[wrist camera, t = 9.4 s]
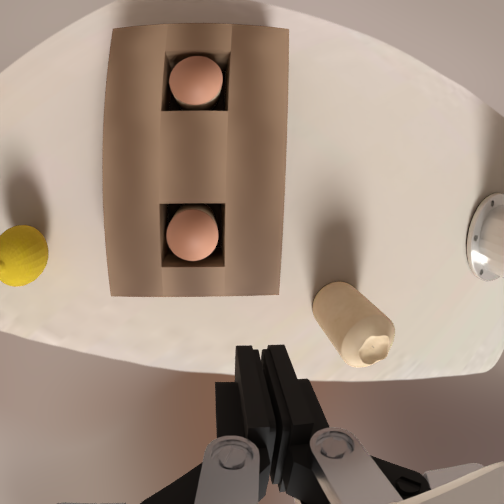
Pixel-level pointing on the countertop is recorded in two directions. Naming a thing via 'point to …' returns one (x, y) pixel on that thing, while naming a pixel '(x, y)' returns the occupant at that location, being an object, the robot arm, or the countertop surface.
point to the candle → (353, 324)
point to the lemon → (22, 255)
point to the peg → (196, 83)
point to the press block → (195, 159)
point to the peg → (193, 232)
